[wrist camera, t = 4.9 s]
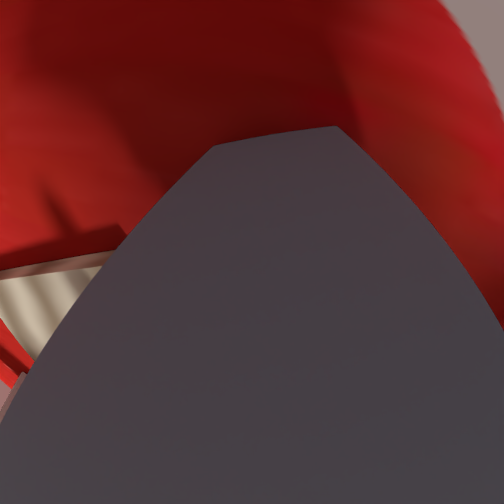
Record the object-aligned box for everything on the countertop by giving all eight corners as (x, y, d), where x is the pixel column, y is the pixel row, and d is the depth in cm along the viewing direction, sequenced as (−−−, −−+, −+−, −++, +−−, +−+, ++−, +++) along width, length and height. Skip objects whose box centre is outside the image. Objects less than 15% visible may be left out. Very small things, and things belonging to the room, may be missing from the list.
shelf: (134, 246, 15) (33, 401, 7) (219, 405, 23) (199, 506, 15) (-13, 273, 18) (-72, 344, 10) (73, 386, 26) (42, 453, 18)
